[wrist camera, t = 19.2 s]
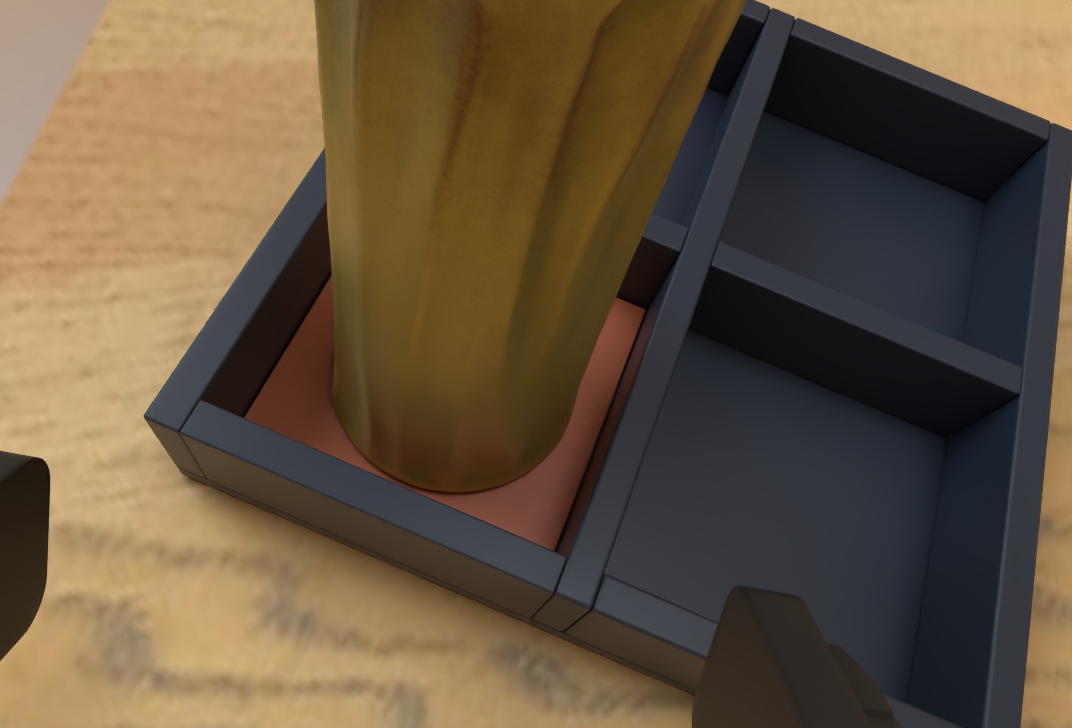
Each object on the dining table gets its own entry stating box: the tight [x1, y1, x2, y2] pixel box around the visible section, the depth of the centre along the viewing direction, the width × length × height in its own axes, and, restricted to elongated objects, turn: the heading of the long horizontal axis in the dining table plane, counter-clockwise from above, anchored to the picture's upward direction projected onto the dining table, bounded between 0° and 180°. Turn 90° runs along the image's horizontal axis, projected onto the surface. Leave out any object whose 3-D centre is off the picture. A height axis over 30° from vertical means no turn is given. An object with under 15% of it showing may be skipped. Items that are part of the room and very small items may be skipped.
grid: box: [144, 0, 1072, 728], centre depth 22 cm, size 18×18×4 cm
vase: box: [314, 0, 747, 492], centre depth 15 cm, size 6×6×14 cm
